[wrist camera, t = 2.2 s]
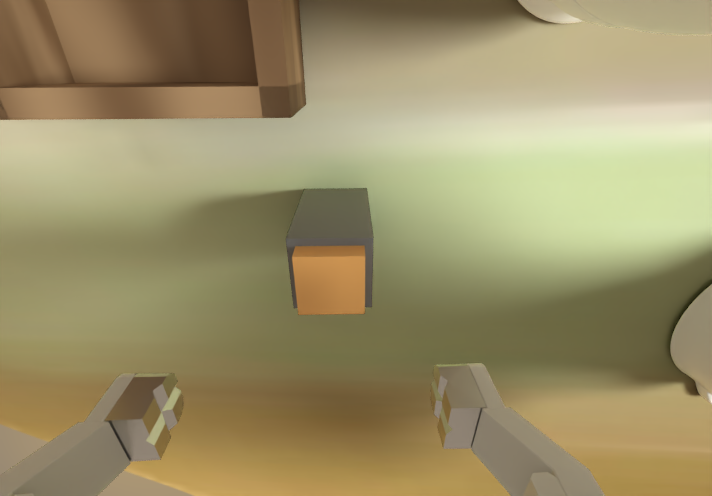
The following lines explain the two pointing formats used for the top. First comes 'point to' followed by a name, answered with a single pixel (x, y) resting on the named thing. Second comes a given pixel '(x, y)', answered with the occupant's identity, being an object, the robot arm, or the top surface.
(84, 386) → the top surface
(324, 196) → the block
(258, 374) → the top surface
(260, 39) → the box
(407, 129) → the top surface
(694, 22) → the jar
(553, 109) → the top surface
